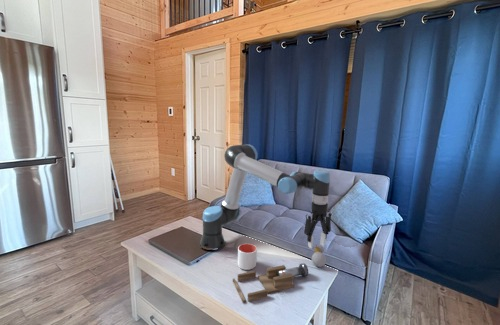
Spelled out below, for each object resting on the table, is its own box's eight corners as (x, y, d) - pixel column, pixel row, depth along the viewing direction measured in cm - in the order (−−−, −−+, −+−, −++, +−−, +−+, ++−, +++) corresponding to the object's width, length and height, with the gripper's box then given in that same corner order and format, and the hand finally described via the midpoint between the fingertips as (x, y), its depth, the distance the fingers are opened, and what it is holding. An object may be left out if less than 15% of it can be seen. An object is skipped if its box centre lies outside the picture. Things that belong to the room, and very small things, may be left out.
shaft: (275, 277, 117) (276, 266, 116) (301, 271, 122) (302, 261, 121) (281, 285, 112) (282, 273, 111) (308, 278, 117) (308, 267, 116)
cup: (254, 272, 121) (255, 254, 120) (235, 269, 123) (235, 251, 122) (257, 261, 131) (258, 244, 129) (240, 259, 133) (240, 242, 131)
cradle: (232, 281, 114) (232, 271, 113) (280, 270, 123) (281, 261, 123) (242, 303, 100) (243, 292, 99) (296, 289, 109) (296, 279, 108)
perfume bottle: (311, 264, 123) (307, 242, 131) (314, 270, 130) (310, 249, 138) (326, 262, 121) (321, 240, 130) (328, 269, 128) (324, 247, 136)
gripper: (307, 206, 109) (303, 253, 112) (341, 203, 116) (337, 246, 119) (298, 201, 116) (295, 245, 119) (331, 198, 123) (327, 240, 126)
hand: (316, 246), depth 119 cm, fingers open, 7 cm apart
